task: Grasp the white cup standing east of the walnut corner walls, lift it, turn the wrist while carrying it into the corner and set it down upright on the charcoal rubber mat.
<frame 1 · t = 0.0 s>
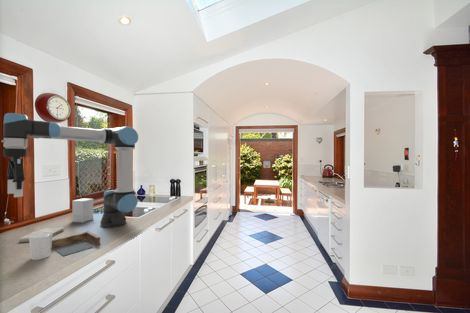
hand: (15, 195, 96), 28 cm above the countertop, fingers open, 13 cm apart
washcloth: (43, 237, 121), on the countertop
supplement box: (83, 220, 151), on the countertop
white cup: (40, 256, 97), on the countertop
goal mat: (74, 248, 105), on the countertop
corner walls: (86, 239, 116), on the countertop
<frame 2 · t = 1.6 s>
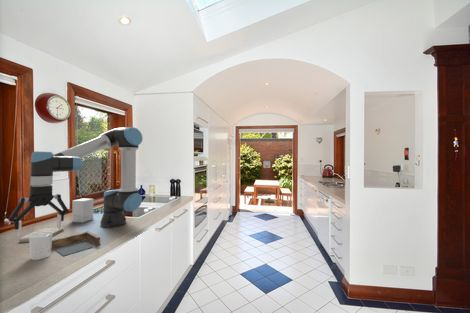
hand: (40, 232, 96), 11 cm above the countertop, fingers open, 13 cm apart
nothing on the countertop moved.
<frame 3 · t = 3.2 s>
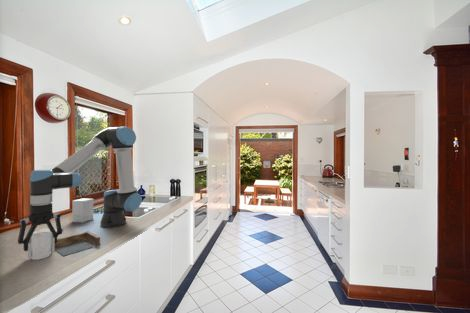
hand: (40, 253, 97), 1 cm above the countertop, fingers closed on white cup, 7 cm apart
white cup: (40, 256, 97), on the countertop, touching gripper
everything else where it was.
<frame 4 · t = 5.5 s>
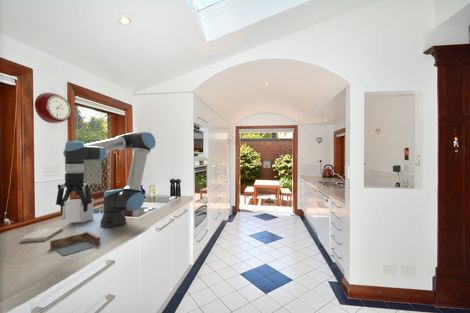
hand: (74, 218, 106), 15 cm above the countertop, fingers closed on white cup, 7 cm apart
white cup: (74, 221, 106), point 14 cm above the countertop, touching gripper
everything else where it was.
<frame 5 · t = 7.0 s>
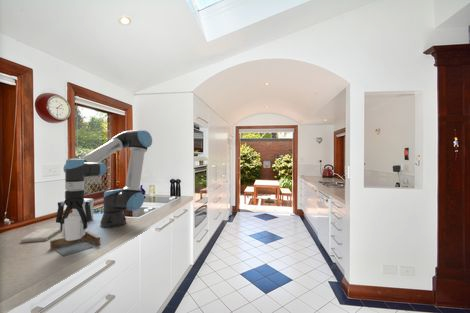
hand: (73, 235, 105), 6 cm above the countertop, fingers closed on white cup, 7 cm apart
white cup: (73, 238, 105), point 5 cm above the countertop, touching gripper
everything else where it was.
when the fingers open (3 cm above the countertop, at t = 8.0 s): white cup drops 2 cm, resting on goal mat.
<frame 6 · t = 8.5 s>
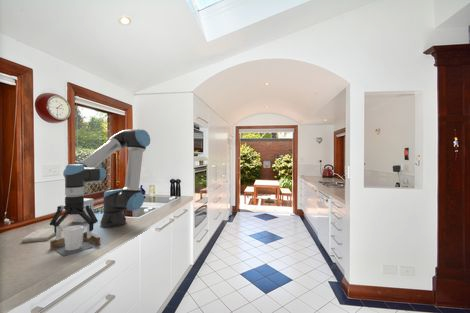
hand: (74, 238, 105), 5 cm above the countertop, fingers open, 13 cm apart
white cup: (73, 248, 105), resting on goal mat
everything else where it was.
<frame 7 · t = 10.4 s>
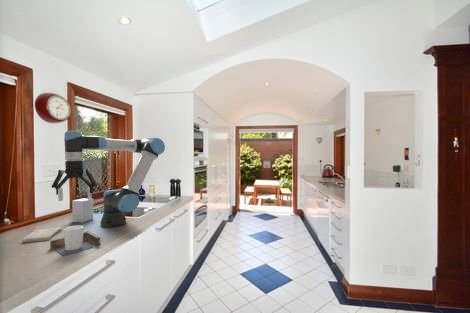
hand: (75, 200, 114), 22 cm above the countertop, fingers open, 13 cm apart
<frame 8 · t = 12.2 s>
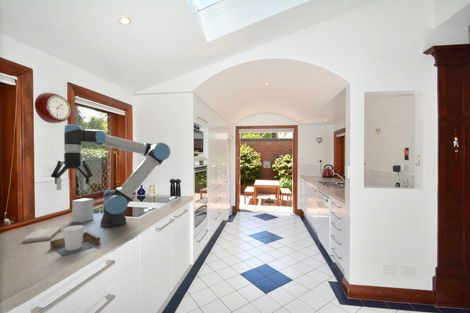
hand: (72, 189, 121), 27 cm above the countertop, fingers open, 13 cm apart
at the end: white cup 0.1 cm from the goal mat (horizontally); white cup tilted 0°; the gripper is holding nothing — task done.
